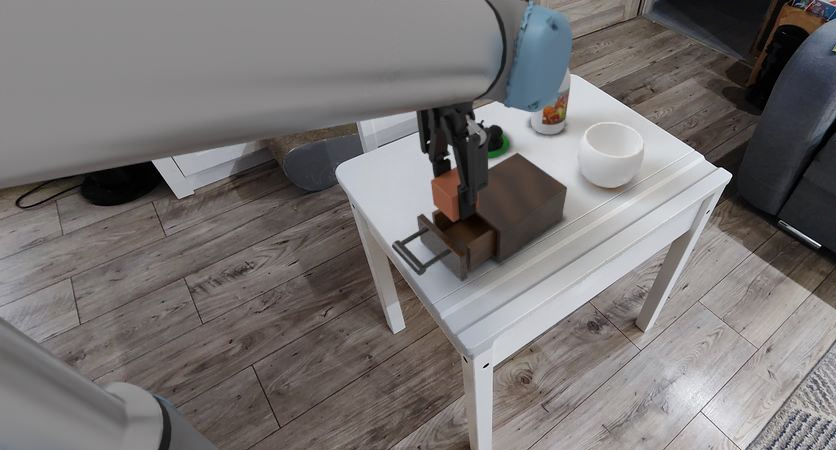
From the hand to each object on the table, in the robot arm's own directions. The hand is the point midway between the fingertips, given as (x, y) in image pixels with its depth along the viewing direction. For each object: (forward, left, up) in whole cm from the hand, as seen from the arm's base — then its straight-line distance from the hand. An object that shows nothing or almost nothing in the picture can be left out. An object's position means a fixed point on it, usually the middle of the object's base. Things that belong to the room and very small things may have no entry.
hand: (456, 204), depth 70 cm
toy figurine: (+23, +20, -12) cm, 33 cm away
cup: (+34, -4, -12) cm, 37 cm away
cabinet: (+11, 0, -12) cm, 16 cm away
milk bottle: (+38, +16, -12) cm, 43 cm away
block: (0, 0, 0) cm, 0 cm away
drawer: (0, 0, -11) cm, 11 cm away
